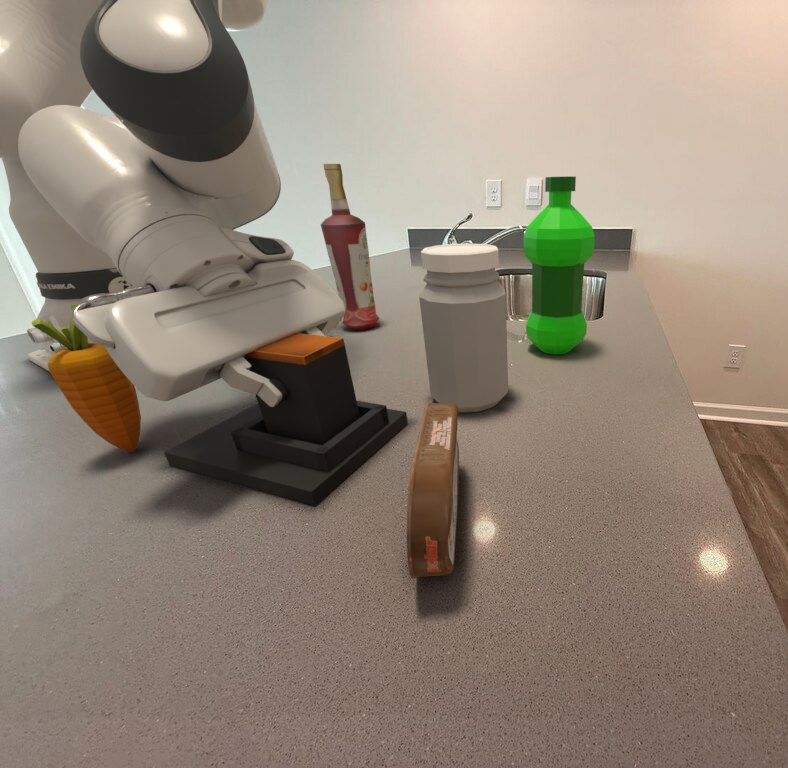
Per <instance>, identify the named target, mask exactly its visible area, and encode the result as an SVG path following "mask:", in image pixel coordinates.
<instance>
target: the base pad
mask: <svg viewBox="0 0 788 768" xmlns="http://www.w3.org/2000/svg"><path fill="white" fill-rule="evenodd" d="M356 401H357V405H358V410H359V415H360V418H359V419H358V420H357V421H355V422H354V423H352V424H351V425H350V426H348V427H347V428H346V429H344V430H343V431H342V432H340V433H339V434H338V435H336V436H335V437H333V438H332V439H331V440H329V441H328V442H327V443H325V444H324V445H323V446H322V445H318V444H313V443H309V442H304V441H300V440H295V439H290V438H286V437H281V436H277V435H272V434H268V431H267V428H266V425H265V422H264V419H263V416H262V413H261V410H260V407H259V404H258V403H256V404H253V405H251V406H250V407H248V408H246V409H244V410H242V411H240V412H238V413H237V414H235V415H232V416H231V417H228V418H226V419H225V420H223V421H221V422H219V423H217V424H215V425H214V426H211V427H210V428H208V429H206V430H204V431H201V432H200V433H198V434H196V435H194V436H192V437H190V438H187V439H186V440H184V441H182V442H181V443H179V444H176V445H175V446H173V447H170V448H168V449H166V451H164V452H163V454H164V456H165V459H166V460H167V463H168V465H169V466H173V467H177V468H179V469H183V470H187V471H190V472H194V473H196V474H202V475H204V476H208V477H212V478H216V479H219V480H222V481H226V482H230V483H234V484H237V485H241V486H244V487H247V488H251V489H254V490H259V491H262V492H266V493H268V494H273V495H275V496H276V495H277V496H280V497H283V498H287V499H291V500H295V501H298V502H301V503H305V504H309V505H312V506H317V505H318V504H319V503H320V502H321V501H322V500H324V499H325V497H327V496H328V495H329V494H330V493H331V492H332V491H334V490H335V489H336V488H337V487H338V486H339V485H340V484H342V482H345V480H346V479H347V478H348V477H350V475H351V474H353V473H354V472H355V471H356V470H357V469H358V468H359V467H361V466H362V465H363V464H364V463H365V462H366V461H367V460H368V459H370V458H371V457H372V456H373V455H374V454H375V453H377V451H379V450H380V449H381V448H382V447H383V446H384V445H386V444H387V442H389V441H390V440H391V439H392V438H393V437H395V435H397V433H399V432H400V431H401V430H402V429H403V428H404V427H406V426H407V425H408V423H409V421H408V416H407V415H408V414H407V411H405V410H404V411H403V410H397V409H392V408H387V405H385V404H379V403H373V402H368V401H360V400H356Z"/></svg>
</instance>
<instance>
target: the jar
mask: <svg viewBox="0 0 788 768" xmlns="http://www.w3.org/2000/svg"><path fill="white" fill-rule="evenodd" d="M420 259H421V265H422V270H425V271H426V274H425V275H424V276H423V282H424V283H426V284H425V286H424V288H423V289H422V291H421V293H420V295H419V297H418V298H419V308H420V316H421V324H422V332H423V342H424V350H425V358H426V366H427V367H426V368H427V375H428V383H429V393H430V397H431V398H432V399H434V400H435V402H436V403H452V404H456V405H458V413H461V414H462V413H464V414H465V413H480V412H482V411H485V410H488V409H492V408H494V407H495V406H496V405H498V404H499V402H501V401H502V400H503V398H504V397H505V396H506V395H507V394H508V392H509V369H508V365H509V364H508V363H509V362H508V329H507V327H508V326H507V324H508V323H507V295H506V294H507V293H506V290H505V287H504V286H503V285H502V284H501V283H500V282H499V279H500V274H499V271H496V268H498V267H499V265H500V264H499V263H500V262H499V261H500V260H499V248H498V246H496V245H493V244H486V243H449V244H437V245H432V246H426V247H424V248H423V249H422V250H421V251H420Z"/></svg>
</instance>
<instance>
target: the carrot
mask: <svg viewBox="0 0 788 768" xmlns="http://www.w3.org/2000/svg"><path fill="white" fill-rule="evenodd" d="M77 305H78V304H73V305H71V310H73V309H74V308H75V307H76V306H77ZM36 319H37V318H36ZM36 319H34V320H32V321H31V325H32V327H33V328H35V327H36V328H37V329H39V330H41V331H43V332H45V333H46V334H48V335H49V336H50V337H52V338H53V339H55V340H56V341H58V342H59V343H61V344H62V345H64V346H65V347H66V349H62V350H59V351H58V352H56V353H55V354H54V355H53V356H52V357H51V359H50V360H49V362H48V368H49V371H50V372H49V371H48V372H49V373H50V375H51V377H52V378H53V380H54V381H55V383H56V385H57V386H58V388H59V390H60V391H61V393H62V394H63V395H64V397H65V399H66V400H67V402H68V404H69V405H70V407H71V408H72V410H74V412H75V413H76V414H77V415H78V417H80V419H81V420H82V422H84V423H85V424H86V425H87V426H88V427H89V428H90V429H91V430H92V431H93V432H94V434H96V435H97V436H98V437H100V438H102V439H103V440H104V441H106V442H107V443H109V444H111V445H112V446H113V447H116V448H118V449H120V450H121V451H124V452H128V453H129V452H130V453H133V452H135V451H136V449H137V448H138V446H139V440H140V435H141V428H142V427H141V426H142V425H141V424H142V415H141V409H140V403H139V399H138V393H137V390H136V389H137V388H136V387H135V386H134V385H133V384H132V383H131V382H130V380H129V379H128V378H127V377H126V376H125V375H124V373H123V372H122V371H121V370H120V368H119V367H118V366H117V365H116V363H115V362H114V360H113V359H112V358H111V356H110V355H109V353H108V352H107V350H106V349H105V347H104V346H101V345H99V344H97V343H88V339H87V336H86V335H85V334H84V333H83V332H82V331H81V330H80V329H78V328H77V327H76V325H75V324H74V322H73V321H72V318H71V319H70V326H69V330H68V328H67V327H62V328H61V329H60V330H61V331H62V332H63V334H64V335H65V336H66V337H65V336H64V335H63V334H62V333H60V332H59V331H58V330H57V329H56V328H55V327H54V326H52V325H51V324H49V323H47V322H46V321H44V320H41V319H37V320H36Z"/></svg>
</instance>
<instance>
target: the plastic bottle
mask: <svg viewBox="0 0 788 768" xmlns="http://www.w3.org/2000/svg"><path fill="white" fill-rule="evenodd" d="M544 179H545V182H544V183H545V185H544V192H545V193H548V205H546V206H545V207H544V208H543V209H542V210H541V211H540V212H539V213H537V216H535V217H534V219H532V220H531V222H530V223H529V224H528V225H527V226H526V228H525V232H524V235H523V250H524V255H525V257H526V258H527V259H528V261H529V262H530V263H531V270H532V271H531V274H532V275H531V307H532V308H531V310H530V312H529V314H528V316H527V318H526V319H527V320H526V324H525V331H526V332H525V333H526V335H527V338H528V340H529V341H530V342H531V344H532V345H534V346H536V347H537V348H538V349H539V351H541V352H542V353H544V354H549V355H563V354H564V355H565V354H567V353H570V352H571V351H572V349H574V348H575V347H577V346H578V345H579V344H581V343H582V341H583V340H584V339H585V337H586V335H587V329H588V328H587V327H588V325H587V321H586V317H585V314H584V312H583V310H582V309H583V292H584V277H585V276H584V274H585V263H587V262H588V260H589V259H591V258H592V256H593V253H594V249H595V239H596V238H595V237H596V235H595V231H594V228H593V226H592V225H591V224H590V222H589V221H588V220H587V219H586V218H585V217H584V215H583V214H582V213H581V212H579V210H578V209H577V208H576V207H575V206H573V204H572V192H576V185H577V184H576V183H577V177H576V176H546V177H545V178H544Z"/></svg>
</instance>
